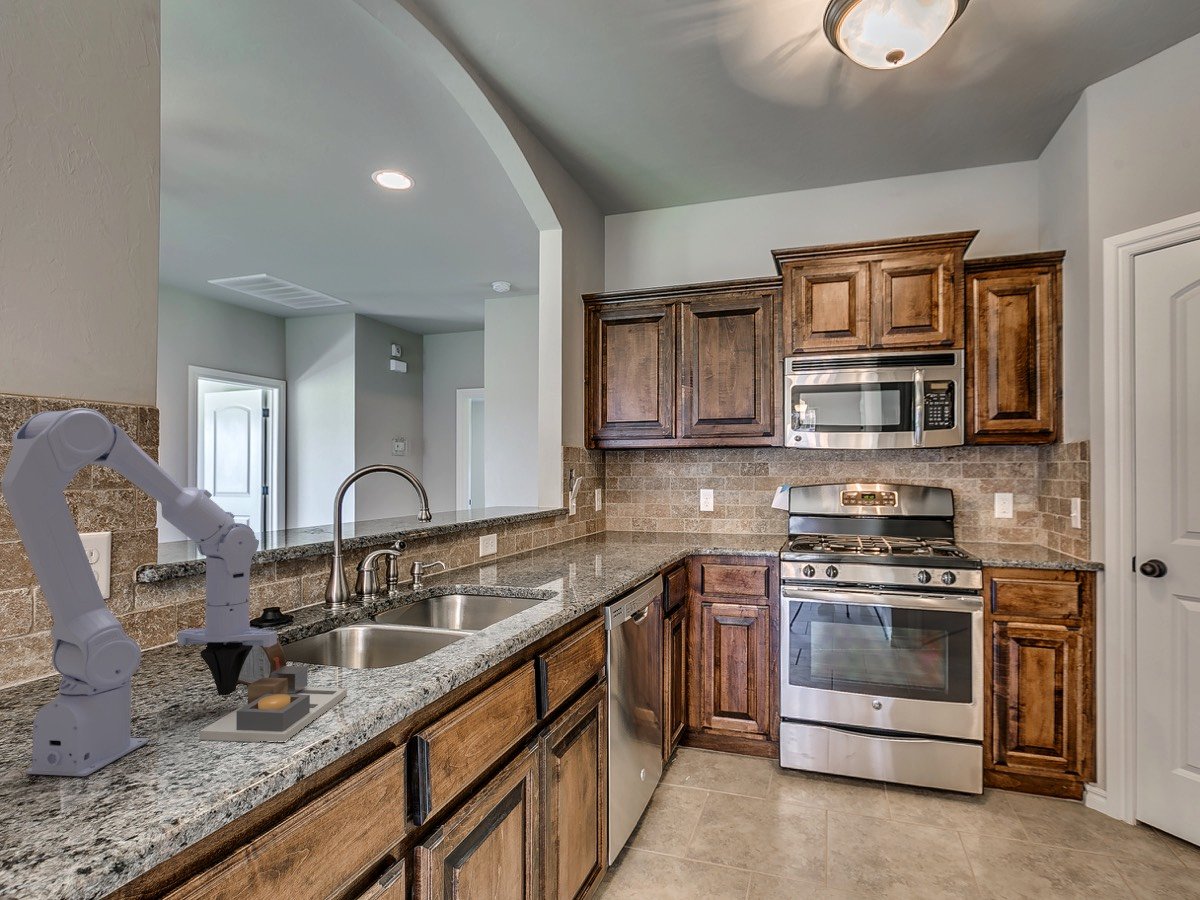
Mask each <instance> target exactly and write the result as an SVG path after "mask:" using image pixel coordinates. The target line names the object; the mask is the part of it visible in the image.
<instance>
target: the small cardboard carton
mask: <svg viewBox="0 0 1200 900" xmlns="http://www.w3.org/2000/svg"><path fill="white" fill-rule="evenodd" d="M287 688H288V678H261V679H259V680H257V681H255V682H253V683H252V684H250V685H247V703H248V704H250V703H251V702H253V701H255V700H256V699H258V698H260V697H262V696H263V695H265V694H287Z"/></svg>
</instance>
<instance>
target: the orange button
mask: <svg viewBox="0 0 1200 900" xmlns="http://www.w3.org/2000/svg"><path fill="white" fill-rule="evenodd" d="M288 704H290V696H289V695H283V694H280V695H272V696H268V697H265V698H262V699H261V700H259V701H258V709H274V710H281V709H282V708H284V707H285V706H287V705H288Z"/></svg>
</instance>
